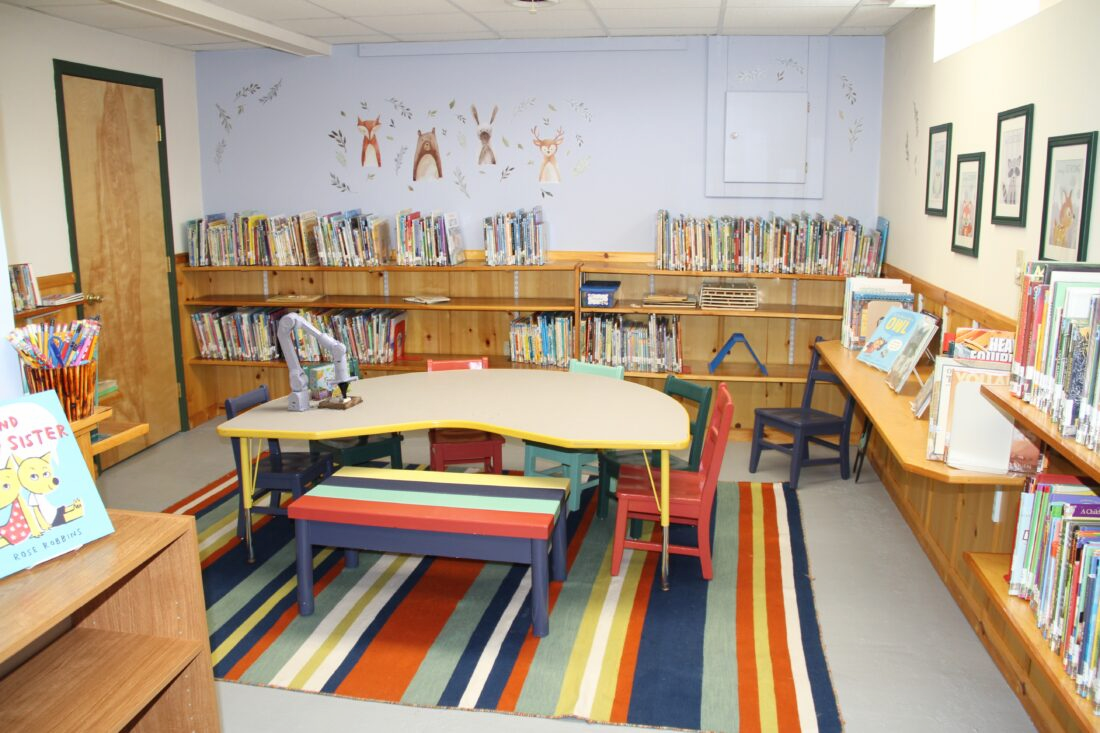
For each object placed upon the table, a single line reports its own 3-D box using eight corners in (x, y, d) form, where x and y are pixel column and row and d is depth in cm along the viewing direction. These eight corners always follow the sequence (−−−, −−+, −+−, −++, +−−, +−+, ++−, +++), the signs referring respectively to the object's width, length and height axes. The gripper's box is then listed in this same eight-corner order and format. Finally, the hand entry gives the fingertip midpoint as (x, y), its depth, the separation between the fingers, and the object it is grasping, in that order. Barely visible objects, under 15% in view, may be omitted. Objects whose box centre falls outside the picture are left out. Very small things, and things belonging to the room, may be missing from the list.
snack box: (319, 401, 416) (316, 370, 413) (311, 399, 419) (308, 369, 416) (352, 391, 433) (349, 361, 430) (344, 390, 436) (341, 361, 433)
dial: (327, 401, 409) (327, 392, 408) (349, 398, 413) (348, 389, 412) (331, 405, 400) (330, 397, 399) (353, 403, 403) (352, 394, 402)
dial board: (345, 409, 397) (345, 403, 397) (317, 408, 402) (317, 402, 402) (363, 401, 411) (362, 396, 411) (335, 400, 416) (335, 394, 415)
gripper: (328, 373, 392) (332, 402, 395) (359, 368, 400) (362, 396, 403) (323, 371, 398) (327, 400, 401) (353, 366, 406) (357, 394, 409)
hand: (344, 398), depth 402 cm, fingers closed, pressing on dial
